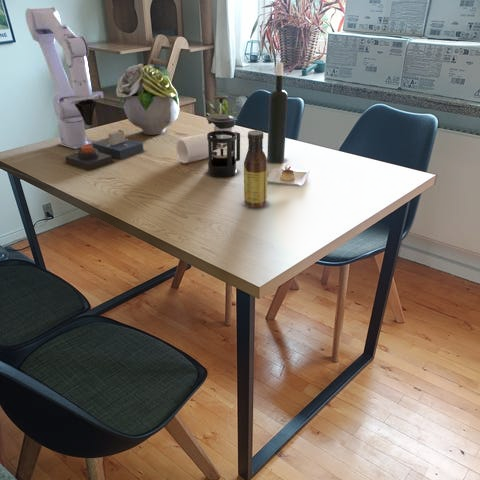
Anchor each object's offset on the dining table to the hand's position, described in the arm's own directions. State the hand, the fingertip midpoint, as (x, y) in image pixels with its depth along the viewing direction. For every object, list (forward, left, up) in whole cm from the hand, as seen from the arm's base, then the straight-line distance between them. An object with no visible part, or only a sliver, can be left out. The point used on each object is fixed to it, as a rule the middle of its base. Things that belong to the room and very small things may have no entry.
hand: (88, 124), depth 166 cm
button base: (+5, -6, -10) cm, 13 cm away
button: (+5, -6, -7) cm, 10 cm away
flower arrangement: (-3, +33, -11) cm, 35 cm away
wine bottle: (+54, +34, -11) cm, 64 cm away
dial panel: (+4, +8, -10) cm, 14 cm away
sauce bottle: (+70, -1, -11) cm, 70 cm away
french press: (+47, +14, -11) cm, 50 cm away
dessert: (+67, +21, -11) cm, 71 cm away
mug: (+30, +18, -11) cm, 36 cm away
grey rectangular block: (+4, +8, -7) cm, 12 cm away
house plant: (+26, +39, -11) cm, 48 cm away
